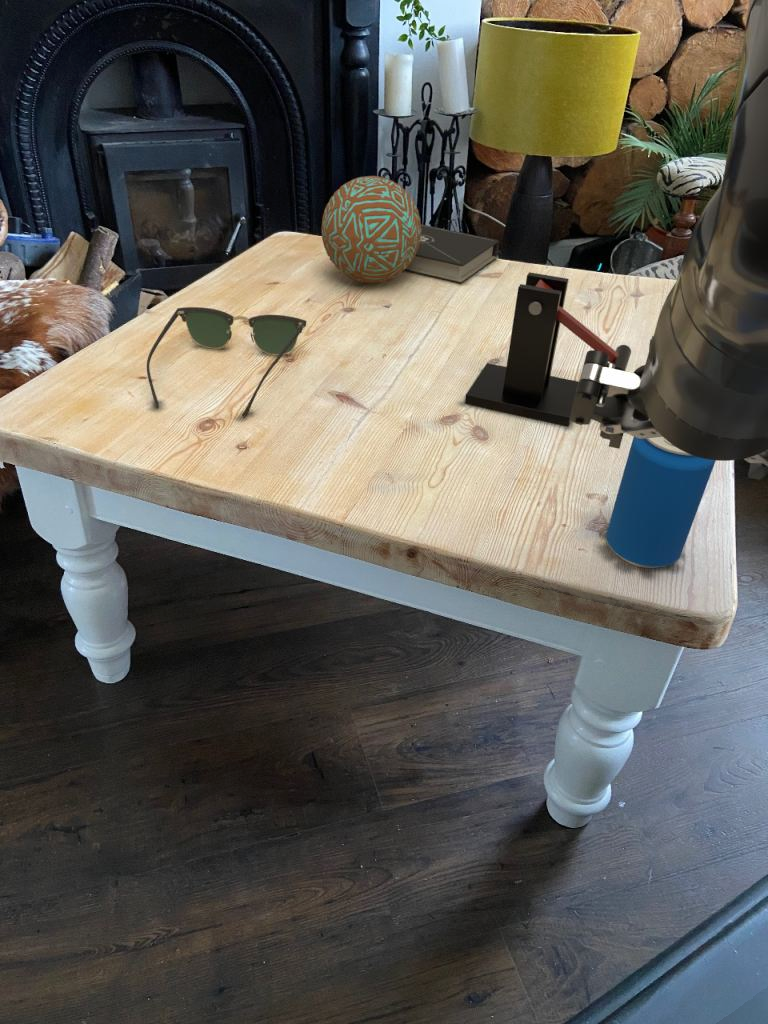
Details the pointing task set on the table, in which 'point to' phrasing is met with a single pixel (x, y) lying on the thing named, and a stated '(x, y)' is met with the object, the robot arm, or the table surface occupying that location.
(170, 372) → the table surface
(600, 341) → the lever
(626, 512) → the beverage can
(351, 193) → the decorative sphere
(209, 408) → the table surface
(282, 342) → the sunglasses
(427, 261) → the book
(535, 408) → the bracket
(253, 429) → the table surface
